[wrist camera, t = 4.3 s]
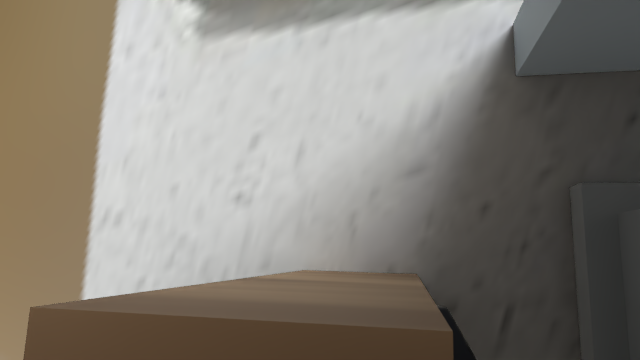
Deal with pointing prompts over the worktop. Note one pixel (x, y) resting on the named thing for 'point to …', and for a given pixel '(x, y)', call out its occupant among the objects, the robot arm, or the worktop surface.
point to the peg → (251, 321)
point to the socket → (607, 268)
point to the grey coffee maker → (577, 36)
